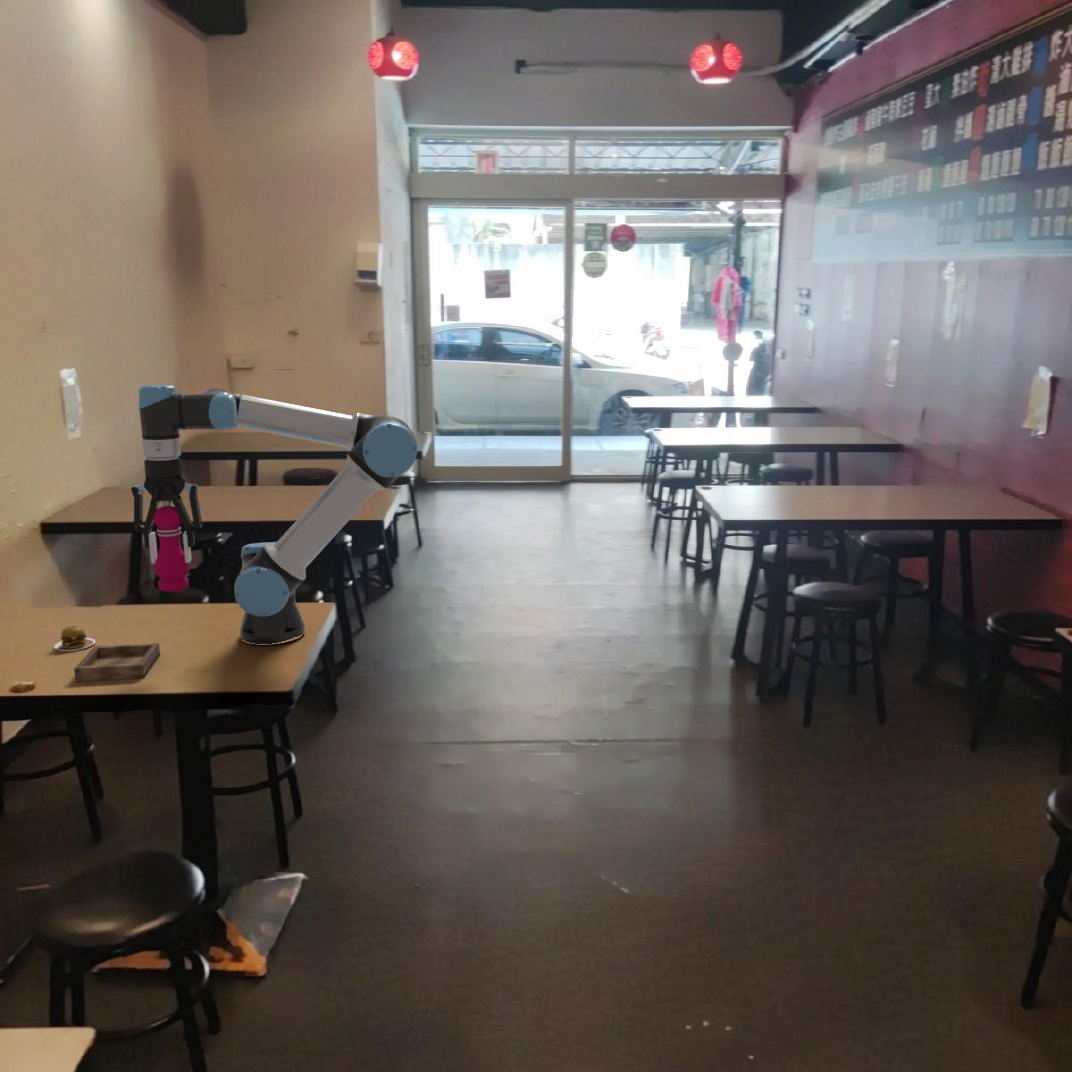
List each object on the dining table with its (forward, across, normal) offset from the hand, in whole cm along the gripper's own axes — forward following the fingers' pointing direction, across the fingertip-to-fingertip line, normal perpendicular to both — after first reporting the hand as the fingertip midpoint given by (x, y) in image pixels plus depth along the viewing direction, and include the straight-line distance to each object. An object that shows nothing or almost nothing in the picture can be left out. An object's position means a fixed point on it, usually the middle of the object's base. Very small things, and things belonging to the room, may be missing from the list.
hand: (171, 561), depth 210 cm
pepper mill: (+6, 0, 0) cm, 6 cm away
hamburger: (+24, -27, +14) cm, 39 cm away
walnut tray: (+23, -12, -3) cm, 26 cm away
